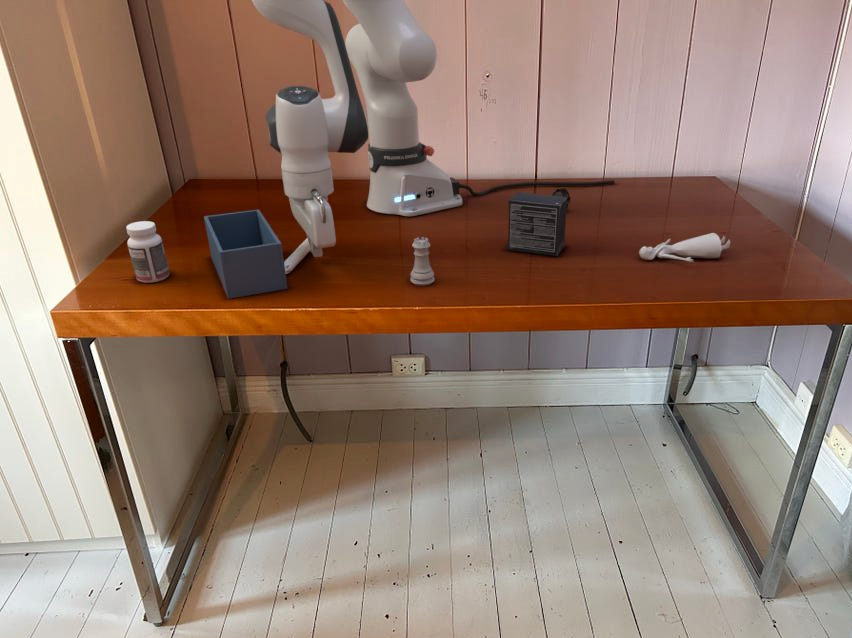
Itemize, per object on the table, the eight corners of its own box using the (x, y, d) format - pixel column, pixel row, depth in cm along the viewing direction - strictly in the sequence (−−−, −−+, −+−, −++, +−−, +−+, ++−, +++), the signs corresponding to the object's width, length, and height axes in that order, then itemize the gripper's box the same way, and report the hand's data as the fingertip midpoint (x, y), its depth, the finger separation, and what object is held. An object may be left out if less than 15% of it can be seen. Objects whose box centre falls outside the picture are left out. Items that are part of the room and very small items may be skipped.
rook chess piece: (414, 288, 128) (413, 245, 124) (406, 278, 132) (405, 237, 128) (438, 284, 130) (437, 242, 126) (429, 275, 133) (428, 233, 129)
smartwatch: (568, 207, 169) (569, 186, 167) (569, 214, 165) (571, 192, 162) (550, 206, 169) (551, 185, 167) (551, 213, 165) (553, 192, 162)
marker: (288, 278, 132) (286, 266, 130) (276, 277, 132) (275, 265, 131) (319, 243, 147) (318, 232, 146) (309, 243, 147) (308, 232, 146)
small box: (565, 246, 147) (569, 195, 142) (557, 257, 142) (561, 205, 136) (515, 239, 150) (517, 190, 145) (506, 250, 145) (507, 199, 139)
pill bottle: (166, 269, 135) (154, 217, 130) (173, 279, 131) (161, 227, 126) (133, 275, 132) (120, 223, 127) (139, 286, 128) (126, 232, 123)
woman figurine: (742, 243, 136) (650, 254, 134) (739, 264, 139) (649, 276, 137) (715, 222, 146) (629, 232, 144) (712, 243, 148) (628, 253, 147)
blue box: (265, 250, 143) (259, 209, 139) (287, 288, 128) (281, 243, 123) (211, 258, 140) (203, 216, 135) (228, 298, 124) (219, 252, 120)
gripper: (340, 196, 124) (347, 271, 131) (312, 167, 140) (319, 235, 147) (304, 201, 122) (313, 276, 129) (279, 171, 138) (288, 239, 145)
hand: (316, 254), depth 138 cm, fingers closed
